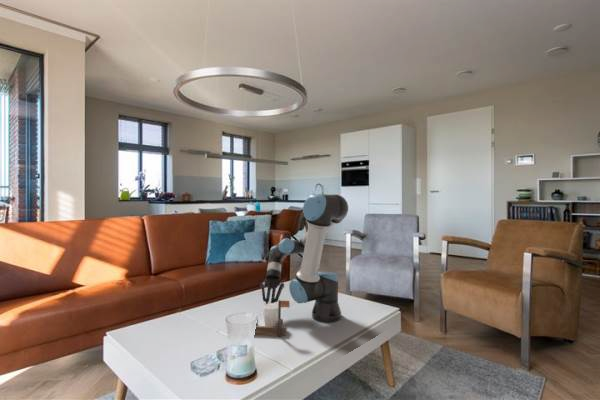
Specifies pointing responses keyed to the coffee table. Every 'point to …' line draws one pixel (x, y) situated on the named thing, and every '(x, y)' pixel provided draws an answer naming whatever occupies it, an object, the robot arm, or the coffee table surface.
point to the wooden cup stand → (273, 330)
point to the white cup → (271, 314)
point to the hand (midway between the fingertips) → (268, 314)
